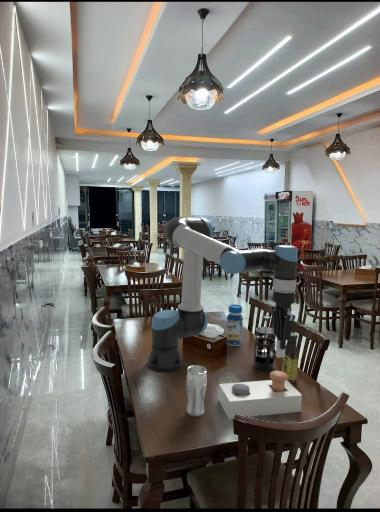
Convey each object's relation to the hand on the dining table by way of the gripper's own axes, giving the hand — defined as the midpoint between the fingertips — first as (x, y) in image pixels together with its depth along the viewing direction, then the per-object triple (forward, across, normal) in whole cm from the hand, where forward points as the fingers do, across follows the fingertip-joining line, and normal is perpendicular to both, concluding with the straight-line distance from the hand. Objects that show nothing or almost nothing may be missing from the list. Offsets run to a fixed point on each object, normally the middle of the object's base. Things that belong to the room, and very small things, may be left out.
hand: (280, 356), depth 125 cm
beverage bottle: (+18, +58, -4) cm, 61 cm away
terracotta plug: (+13, 0, 0) cm, 13 cm away
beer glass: (+18, 0, +30) cm, 35 cm away
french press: (+18, +30, -8) cm, 36 cm away
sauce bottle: (+18, +16, -13) cm, 28 cm away
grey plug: (+17, 0, +14) cm, 22 cm away
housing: (+18, 0, +7) cm, 19 cm away
